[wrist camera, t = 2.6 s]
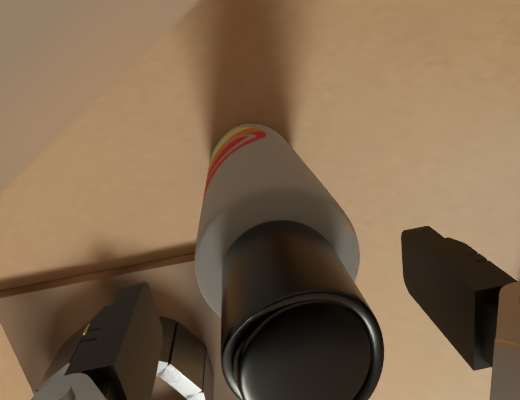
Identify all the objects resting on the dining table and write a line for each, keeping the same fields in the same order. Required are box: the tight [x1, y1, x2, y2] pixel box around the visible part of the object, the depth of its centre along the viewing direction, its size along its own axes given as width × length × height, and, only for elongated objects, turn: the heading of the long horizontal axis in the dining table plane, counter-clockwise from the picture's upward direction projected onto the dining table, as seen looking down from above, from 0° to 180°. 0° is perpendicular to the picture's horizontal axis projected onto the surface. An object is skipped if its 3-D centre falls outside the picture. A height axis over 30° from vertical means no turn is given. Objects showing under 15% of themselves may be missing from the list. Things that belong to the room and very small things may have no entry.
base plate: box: [0, 253, 239, 400], centre depth 31 cm, size 16×19×1 cm
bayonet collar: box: [34, 316, 214, 400], centre depth 29 cm, size 12×15×4 cm
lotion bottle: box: [195, 123, 384, 400], centre depth 18 cm, size 6×6×20 cm
